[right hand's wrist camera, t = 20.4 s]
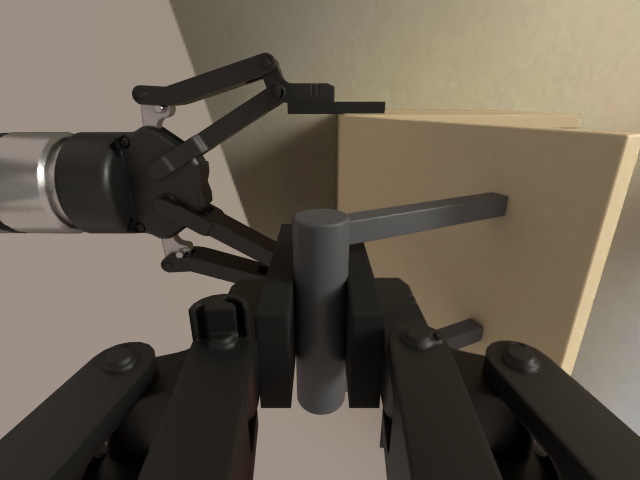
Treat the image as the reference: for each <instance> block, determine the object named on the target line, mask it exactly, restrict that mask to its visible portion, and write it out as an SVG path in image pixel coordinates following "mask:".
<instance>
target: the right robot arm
mask: <svg viewBox="0 0 640 480" xmlns="http://www.w3.org/2000/svg"><path fill="white" fill-rule="evenodd" d="M189 317H190V324H191V331H192V337H193V342H192V345H191V347H190V349H187V350H185V351H181V352H178V353H173V354H168V355H164V356H159V357H155V352H154V349H153V348H152V347H151V346H150V345H149V344H145V343H142V342H128V343H123V344H119V345H115V346H113V347H111V348H108V349H106V350H104V351H102V352H101V353H99V354H98V355H96V356H95V357H94V358H92V359H91V360H90V361H89V362H88V363H87V364H86V365H84V366H83V367H82V368H81V369H80V370H79V371H78V372H77V373H75V374H74V375H73V376H72V377H71V378H70V379H69V380H67V381H66V382H65V383H64V384H63V385H62V386H61V387H60V388H58V389H57V390H56V391H55V392H54V393H53V394H52V395H50V396H49V397H48V398H47V399H46V400H45V401H44V402H43V403H42V404H40V405H39V406H38V407H37V408H36V409H35V410H34V411H32V412H31V413H30V414H29V415H28V416H27V417H26V418H24V419H23V420H22V421H21V422H20V423H19V424H18V425H17V426H15V427H14V428H13V429H12V430H11V431H10V432H9V433H7V434H6V435H5V436H4V437H3V438H2V439H1V440H0V480H253V474H254V463H255V453H256V443H257V433H258V414H257V407H258V402H259V397H260V401H261V408H291V401H292V390H293V380H294V369H295V359H296V335H295V302H294V270H293V237H292V224H282V226H281V229H280V233H279V236H278V239H277V242H276V246H275V249H274V252H273V255H272V259H271V262H270V265H269V268H268V272H267V275H266V278H265V279H241V280H239V281H238V282H237V283H235V284H234V285H233V286H232V287H231V289H230V291H229V293H228V294H220V295H212V296H209V297H206V298H203V299H201V300H199V301H197V302H196V303H194V304H193V305H192V306H191V307H190V309H189ZM345 367H346V378H347V388H348V399H349V408H379V404H380V394H381V398H382V404H383V414H382V427H381V439H380V447H381V448H384V453H385V463H386V473H387V480H640V437H639V436H638V435H637V434H636V433H635V432H634V431H632V430H631V429H630V428H629V427H628V426H627V425H626V424H624V423H623V422H622V421H621V420H620V419H619V418H618V417H616V416H615V415H614V414H613V413H612V412H611V411H610V410H608V409H607V408H606V407H605V406H604V405H603V404H602V403H600V402H599V401H598V400H597V399H596V398H595V397H594V396H593V395H591V394H590V393H589V392H588V391H587V390H586V389H585V388H583V387H582V386H581V385H580V384H579V383H578V382H577V381H575V380H574V379H573V378H572V377H571V376H570V375H569V374H567V373H566V372H565V371H564V370H563V369H562V368H561V367H559V366H558V365H557V364H556V363H555V362H554V361H553V360H551V359H550V358H549V357H548V356H547V355H545V354H544V353H542V352H541V351H539V350H538V349H536V348H534V347H531V346H529V345H527V344H524V343H521V342H516V341H502V340H500V341H497V342H493V343H491V344H490V345H489V346H488V347H487V348H486V353H485V356H484V355H479V354H475V353H470V352H465V351H461V350H457V349H454V348H452V347H450V346H449V344H448V342H447V340H446V339H445V337H444V336H443V334H441V333H440V332H439V331H437V330H436V329H434V328H432V327H429V326H428V324H427V322H426V320H425V318H424V316H423V314H422V312H421V310H420V308H419V306H418V304H417V303H416V299H415V297H414V296H413V293H412V291H411V289H410V287H409V285H408V284H406V283H405V282H404V281H402V280H401V279H400V278H375V277H374V274H373V271H372V268H371V264H370V261H369V258H368V255H367V251H366V248H365V245H364V242H363V243H358V244H352V245H349V264H348V277H347V299H346V333H345ZM537 443H538V444H539V445H540V446H539V445H538V444H537Z"/></svg>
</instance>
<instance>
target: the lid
mask: <svg viewBox="0 0 640 480" xmlns="http://www.w3.org/2000/svg"><path fill="white" fill-rule="evenodd" d="M639 150H640V133H629V132H613V131H597V130H581V129H565V128H548V127H532V126H516V125H500V124H484V123H468V122H452V121H436V120H420V119H404V118H388V117H371V116H355V115H341V116H340V140H339V200H338V210H333V209H309V210H304V211H300V212H298V213H296V214H294V216H293V218H292V237H293V270H294V302H295V335H296V367H297V397H298V401H299V403H300V405H301V406H302V407H303V408H304V409H305V410H306V411H308V412H310V413H313V414H319V415H323V414H329V413H332V412H334V411H336V410H337V409H338V408H339V407H340V406H341V405H342V403H343V401H344V398H345V392H347V391H348V388H347V378H346V367H345V333H346V299H347V277H348V264H349V245H352V244H358V243H363V242H364V245H365V248H366V251H367V255H368V258H369V261H370V264H371V268H372V271H373V274H374V277H375V278H400V279H401V280H402V281H404V282H405V283H406V284H408V285H409V287H410V289H411V291H412V293H413V296H414V297H415V299H416V303H417V304H418V306H419V308H420V310H421V312H422V314H423V316H424V318H425V320H426V322H427V324H428V326H429V327H432V328H434V329H436V330H437V331H439V332H440V333H441V334H443V336H444V337H445V339H446V340H447V342H448V344H449V346H450V347H452V348H454V349H457V350H461V351H465V352H470V353H475V354H479V355H484V356H485V353H486V348H487V347H488V346H489V345H490V344H491V343H493V342H497V341H500V340H502V341H516V342H521V343H524V344H527V345H529V346H531V347H534V348H536V349H538V350H539V351H541V352H542V353H544V354H545V355H547V356H548V357H549V358H550V359H551V360H553V361H554V362H555V363H556V364H557V365H558V366H559V367H561V368H562V369H563V370H564V371H565V372H566V373H567V374H569V375H570V376H571V374H572V371H573V367H574V364H575V361H576V357H577V354H578V351H579V348H580V344H581V341H582V338H583V334H584V331H585V328H586V325H587V321H588V318H589V315H590V311H591V308H592V305H593V302H594V298H595V295H596V292H597V288H598V285H599V282H600V279H601V275H602V272H603V269H604V265H605V262H606V259H607V256H608V252H609V249H610V246H611V242H612V239H613V236H614V233H615V229H616V226H617V223H618V219H619V216H620V213H621V210H622V206H623V203H624V200H625V196H626V193H627V190H628V187H629V183H630V180H631V177H632V173H633V170H634V167H635V164H636V160H637V157H638V154H639Z"/></svg>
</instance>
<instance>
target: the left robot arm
mask: <svg viewBox="0 0 640 480" xmlns="http://www.w3.org/2000/svg"><path fill="white" fill-rule="evenodd" d="M261 79H264V82H265V85H266V87H267V88H266V89H265V90H263V91H262V92H260V93H259V94H257V95H256V96H254V97H253V98H251V99H250V100H248V101H247V102H245V103H244V104H242V105H241V106H239V107H238V108H236V109H235V110H233V111H232V112H230V113H229V114H227V115H225V116H224V117H222V118H221V119H219V120H218V121H216V122H215V123H213V124H212V125H210V126H209V127H207V128H206V129H204V130H203V131H201V132H200V133H198V134H196V135H194V136H193V137H191V138H189V139H188V140H186V141H183V140H182V139H180V138H179V137H177V136H176V135H174V134H173V133H171V132H170V131H169V130H167V129H165V128H164V127H162V122H163V120H164V119H165V118H167V117H171V116H173V115H174V113H175V109H176V108H175V105H186V104H190V103H193V102H196V101H199V100H202V99H205V98H208V97H211V96H214V95H217V94H220V93H223V92H226V91H229V90H232V89H235V88H238V87H241V86H244V85H247V84H250V83H252V82H255V81H258V80H261ZM132 96H133V99H134V100H135V101H136V102H137V103H138V104H141V112H142V121H143V127H141V128H139V129H138V130H136V131H134V132H80V133H76V134H72V133H69V132H12V133H0V233H83V232H87V233H149V234H152V235H154V236H156V237H158V238H161V239H162V243H163V248H164V252H165V258H164V259H163V260H162V262H161V267H162V269H163V270H164V271H166V272H187V271H192V272H195V273H199V274H203V275H207V276H211V277H214V278H218V279H222V280H226V281H229V282H233V283H237V282H238V281H239V280H241V279H265V278H266V275H267V272H268V268H269V265H270V262H271V259H272V255H273V252H274V249H275V246H276V241H274V240H272V239H270V238H268V237H266V236H265V235H263V234H261V233H259V232H257V231H255V230H253V229H252V228H250V227H248V226H246V225H244V224H242V223H240V222H238V221H237V220H235V219H233V218H231V217H229V216H227V215H226V214H224V213H223V211H222V210H221V209H219V208H217V207H215V206H214V205H212V204H210V202H211V201H212V191H211V188H210V186H209V183H208V176H209V163H208V161H206V160H205V158H204V157H203V155H204V154H205V153H207V152H208V151H210V150H211V149H213V148H215V147H216V146H217V145H219V144H220V143H222V142H223V141H225V140H226V139H228V138H229V137H231V136H233V135H234V134H236V133H237V132H239V131H240V130H242V129H243V128H245V127H246V126H248V125H250V124H251V123H253V122H254V121H256V120H257V119H259V118H260V117H262V116H264V115H265V114H267V113H268V112H270V111H271V110H273V109H274V108H276V107H277V106H279V105H281V104H282V103H288V114H344V113H385V102H334V86H332V85H329V84H327V83H288V82H287V81H286V80H285V79H284V77H283V75H282V72H281V70H280V67H279V63H278V61H277V60H276V59H275V58H274V57H273V56H272V55H271V54H269V53H262V54H259V55H256V56H253V57H251V58H248V59H245V60H242V61H239V62H236V63H233V64H230V65H227V66H224V67H221V68H219V69H216V70H213V71H210V72H207V73H204V74H201V75H198V76H195V77H192V78H190V79H187V80H184V81H181V82H178V83H175V84H172V85H169V86H166V87H160V86H143V85H139V86H136V87H134V89H133V91H132ZM186 227H187V228H189V229H191V230H193V231H195V232H197V233H199V234H201V235H203V236H211V237H213V238H215V239H217V240H219V241H220V242H222V243H224V244H226V245H228V246H230V247H232V248H234V249H236V250H238V251H240V252H242V253H243V254H245V255H247V256H249V257H251V258H253V259H255V260H257V261H254V260H250V259H247V258H243V257H239V256H235V255H232V254H228V253H225V252H221V251H217V250H214V249H210V248H205V247H199V246H193V243H192V242H190V241H184V240H182V239H181V238H180V237H179V236H178V233H179V232H181V231H182V230H183V229H185V228H186ZM258 261H259V262H258Z"/></svg>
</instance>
